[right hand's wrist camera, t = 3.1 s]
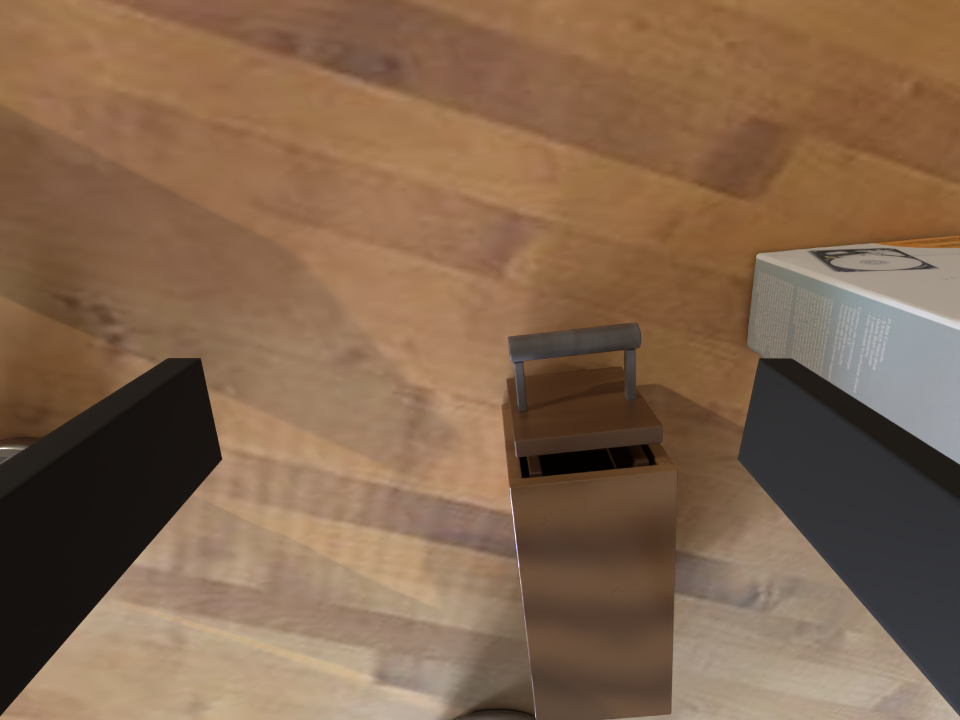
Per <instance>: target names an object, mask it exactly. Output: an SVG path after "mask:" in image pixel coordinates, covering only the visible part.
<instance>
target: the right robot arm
mask: <svg viewBox="0 0 960 720" xmlns="http://www.w3.org/2000/svg"><path fill="white" fill-rule="evenodd" d="M221 460H222V456H221V451H220V447H219V442H218V437H217V432H216V428H215V423H214V418H213V414H212V409H211V404H210V400H209V395H208V390H207V385H206V381H205V376H204V371H203V367H202V362H201V358H168V359H166V360H165V361H163V362H161V363H160V364H158V365H157V366H155V367H153V368H152V369H150V370H149V371H147V372H146V373H144V374H142V375H141V376H139V377H138V378H136V379H135V380H133V381H131V382H130V383H128V384H127V385H125V386H123V387H122V388H120V389H119V390H117V391H116V392H114V393H112V394H111V395H109V396H108V397H106V398H104V399H103V400H101V401H100V402H98V403H97V404H95V405H93V406H92V407H90V408H89V409H87V410H86V411H84V412H82V413H81V414H79V415H78V416H76V417H74V418H73V419H71V420H70V421H68V422H67V423H65V424H63V425H62V426H60V427H59V428H57V429H55V430H54V431H52V432H51V433H49V434H48V435H46V436H44V437H43V438H41V439H39V438H12V439H6V440H2V441H0V716H1V715H2V714H3V712H4V711H5V710H6V709H7V708H8V707H9V705H10V704H11V703H12V702H13V701H14V700H15V699H16V697H17V696H18V695H19V694H20V693H21V692H22V690H23V689H24V688H25V687H26V686H27V685H28V683H29V682H30V681H31V680H32V679H33V678H34V677H35V675H36V674H37V673H38V672H39V671H40V670H41V668H42V667H43V666H44V665H45V664H46V663H47V661H48V660H49V659H50V658H51V657H52V656H53V655H54V653H55V652H56V651H57V650H58V649H59V648H60V646H61V645H62V644H63V643H64V642H65V641H66V639H67V638H68V637H69V636H70V635H71V634H72V633H73V631H74V630H75V629H76V628H77V627H78V626H79V624H80V623H81V622H82V621H83V620H84V619H85V618H86V616H87V615H88V614H89V613H90V612H91V611H92V609H93V608H94V607H95V606H96V605H97V604H98V602H99V601H100V600H101V599H102V598H103V597H104V596H105V594H106V593H107V592H108V591H109V590H110V589H111V587H112V586H113V585H114V584H115V583H116V582H117V580H118V579H119V578H120V577H121V576H122V575H123V574H124V572H125V571H126V570H127V569H128V568H129V567H130V565H131V564H132V563H133V562H134V561H135V560H136V558H137V557H138V556H139V555H140V554H141V553H142V552H143V550H144V549H145V548H146V547H147V546H148V545H149V543H150V542H151V541H152V540H153V539H154V538H155V537H156V535H157V534H158V533H159V532H160V531H161V530H162V528H163V527H164V526H165V525H166V524H167V523H168V521H169V520H170V519H171V518H172V517H173V516H174V515H175V513H176V512H177V511H178V510H179V509H180V508H181V506H182V505H183V504H184V503H185V502H186V501H187V499H188V498H189V497H190V496H191V495H192V494H193V493H194V491H195V490H196V489H197V488H198V487H199V486H200V484H201V483H202V482H203V481H204V480H205V479H206V477H207V476H208V475H209V474H210V473H211V472H212V471H213V469H214V468H215V467H216V466H217V465H218V464H219V462H220V461H221ZM738 460H739V461H740V462H741V464H742V465H743V466H744V467H745V468H746V469H747V471H748V472H749V473H750V474H751V475H752V476H753V477H754V479H755V480H756V481H757V482H758V483H759V484H760V486H761V487H762V488H763V489H764V490H765V491H766V493H767V494H768V495H769V496H770V497H771V498H772V499H773V501H774V502H775V503H776V504H777V505H778V506H779V508H780V509H781V510H782V511H783V512H784V513H785V515H786V516H787V517H788V518H789V519H790V520H791V521H792V523H793V524H794V525H795V526H796V527H797V528H798V530H799V531H800V532H801V533H802V534H803V535H804V537H805V538H806V539H807V540H808V541H809V542H810V543H811V545H812V546H813V547H814V548H815V549H816V550H817V552H818V553H819V554H820V555H821V556H822V557H823V558H824V560H825V561H826V562H827V563H828V564H829V565H830V567H831V568H832V569H833V570H834V571H835V572H836V574H837V575H838V576H839V577H840V578H841V579H842V580H843V582H844V583H845V584H846V585H847V586H848V587H849V589H850V590H851V591H852V592H853V593H854V594H855V596H856V597H857V598H858V599H859V600H860V601H861V602H862V604H863V605H864V606H865V607H866V608H867V609H868V611H869V612H870V613H871V614H872V615H873V616H874V618H875V619H876V620H877V621H878V622H879V623H880V624H881V626H882V627H883V628H884V629H885V630H886V631H887V633H888V634H889V635H890V636H891V637H892V638H893V639H894V641H895V642H896V643H897V644H898V645H899V646H900V648H901V649H902V650H903V651H904V652H905V653H906V655H907V656H908V657H909V658H910V659H911V660H912V661H913V663H914V664H915V665H916V666H917V667H918V668H919V670H920V671H921V672H922V673H923V674H924V675H925V677H926V678H927V679H928V680H929V681H930V682H931V683H932V685H933V686H934V687H935V688H936V689H937V690H938V692H939V693H940V694H941V695H942V696H943V697H944V699H945V700H946V701H947V702H948V703H949V704H950V705H951V707H952V708H953V709H954V710H955V711H956V712H957V714H958V715H959V716H960V464H958V463H957V462H955V461H954V460H952V459H950V458H949V457H947V456H946V455H944V454H942V453H941V452H939V451H938V450H936V449H935V448H933V447H931V446H930V445H928V444H927V443H925V442H923V441H922V440H920V439H919V438H917V437H916V436H914V435H912V434H911V433H909V432H908V431H906V430H905V429H903V428H901V427H900V426H898V425H897V424H895V423H893V422H892V421H890V420H889V419H887V418H886V417H884V416H882V415H881V414H879V413H878V412H876V411H874V410H873V409H871V408H870V407H868V406H867V405H865V404H863V403H862V402H860V401H859V400H857V399H856V398H854V397H852V396H851V395H849V394H848V393H846V392H844V391H843V390H841V389H840V388H838V387H837V386H835V385H833V384H832V383H830V382H829V381H827V380H825V379H824V378H822V377H821V376H819V375H818V374H816V373H814V372H813V371H811V370H810V369H808V368H807V367H805V366H803V365H802V364H800V363H799V362H797V361H795V360H794V359H792V358H759V362H758V367H757V371H756V376H755V381H754V385H753V390H752V395H751V400H750V404H749V409H748V414H747V418H746V423H745V428H744V432H743V437H742V442H741V447H740V451H739V456H738Z"/></svg>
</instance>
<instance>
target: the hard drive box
mask: <svg viewBox="0 0 960 720" xmlns="http://www.w3.org/2000/svg"><path fill="white" fill-rule="evenodd" d="M747 347H748V348H750V349H751V350H753V351H754V352H755V353H757V354H758V355H760V356H761V357H762V358H792V359H794V360H795V361H797V362H799V363H800V364H802V365H803V366H805V367H807V368H808V369H810V370H811V371H813V372H814V373H816V374H818V375H819V376H821V377H822V378H824V379H825V380H827V381H829V382H830V383H832V384H833V385H835V386H837V387H838V388H840V389H841V390H843V391H844V392H846V393H848V394H849V395H851V396H852V397H854V398H856V399H857V400H859V401H860V402H862V403H863V404H865V405H867V406H868V407H870V408H871V409H873V410H874V411H876V412H878V413H879V414H881V415H882V416H884V417H886V418H887V419H889V420H890V421H892V422H893V423H895V424H897V425H898V426H900V427H901V428H903V429H905V430H906V431H908V432H909V433H911V434H912V435H914V436H916V437H917V438H919V439H920V440H922V441H923V442H925V443H927V444H928V445H930V446H931V447H933V448H935V449H936V450H938V451H939V452H941V453H942V454H944V455H946V456H947V457H949V458H950V459H952V460H954V461H955V462H957V463H958V464H960V235H958V236H946V237H934V238H921V239H911V240H901V241H890V242H879V243H869V244H856V245H846V246H834V247H819V248H810V249H798V250H789V251H779V252H768V253H759V254H757V256H756V263H755V271H754V281H753V290H752V299H751V308H750V317H749V327H748V339H747Z"/></svg>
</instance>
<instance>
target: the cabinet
mask: <svg viewBox="0 0 960 720" xmlns="http://www.w3.org/2000/svg"><path fill="white" fill-rule="evenodd" d="M502 415H503V425H504V436H505V447H506V457H507V468H508V479H509V489H510V498H511V506H512V515H513V524H514V532H515V541H516V550H517V558H518V567H519V576H520V584H521V593H522V602H523V611H524V619H525V628H526V637H527V645H528V654H529V663H530V671H531V680H532V689H533V698H534V706H535V715H536V720H606V719H619V718H631V717H643V716H656V715H668V714H671V698H672V660H673V621H674V582H675V544H676V505H677V469H676V468H675V466H674V465H673V464H672V461H671V460H670V458H669V457H668V455H667V454H666V452H665V451H664V449H663V447H662V446H661V444H660V443H654V444H644V445H640V447H641V448H642V450H643V452H644V454H645V455H646V457H647V459H648V461H649V466H642V467H632V468H622V469H612V470H603V471H593V472H583V473H573V474H563V475H553V476H543V477H533V478H526V473H525V463H524V457H516V454H515V446H514V438H513V430H512V422H511V414H510V406H509V404H503V405H502Z"/></svg>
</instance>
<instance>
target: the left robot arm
mask: <svg viewBox="0 0 960 720" xmlns="http://www.w3.org/2000/svg"><path fill="white" fill-rule="evenodd" d="M455 720H536V717H534V716H531V715H528V714H525V713H521V712H516V711H510V710H486V711H479V712H474V713H471V714H467V715H464V716H462V717H459V718H457V719H455Z"/></svg>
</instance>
